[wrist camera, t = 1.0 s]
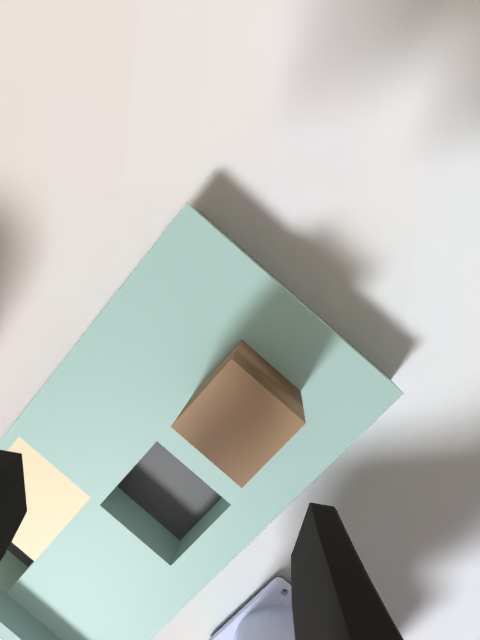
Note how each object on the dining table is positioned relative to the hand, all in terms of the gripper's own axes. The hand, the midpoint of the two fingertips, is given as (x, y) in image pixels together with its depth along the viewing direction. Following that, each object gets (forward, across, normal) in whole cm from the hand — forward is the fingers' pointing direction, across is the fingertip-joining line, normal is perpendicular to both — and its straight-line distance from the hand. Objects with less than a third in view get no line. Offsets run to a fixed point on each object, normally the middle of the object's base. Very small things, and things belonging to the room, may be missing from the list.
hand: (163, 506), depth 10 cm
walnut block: (+12, -2, +4) cm, 13 cm away
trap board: (+13, +3, +12) cm, 18 cm away
